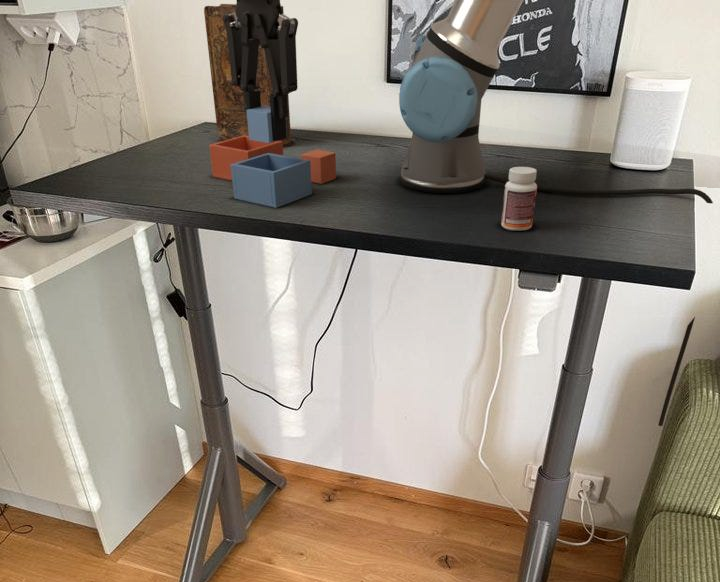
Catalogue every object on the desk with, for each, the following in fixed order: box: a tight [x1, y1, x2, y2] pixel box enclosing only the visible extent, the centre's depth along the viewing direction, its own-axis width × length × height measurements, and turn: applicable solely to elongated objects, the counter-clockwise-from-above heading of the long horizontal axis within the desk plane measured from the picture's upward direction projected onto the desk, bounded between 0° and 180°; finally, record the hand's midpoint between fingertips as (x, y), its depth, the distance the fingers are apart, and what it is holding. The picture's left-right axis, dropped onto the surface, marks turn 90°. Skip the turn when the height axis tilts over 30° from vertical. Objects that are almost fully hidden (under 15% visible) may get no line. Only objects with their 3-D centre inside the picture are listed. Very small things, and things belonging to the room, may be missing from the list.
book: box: [203, 3, 292, 148], centre depth 152 cm, size 16×6×25 cm, turn 63°
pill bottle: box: [500, 166, 538, 232], centre depth 110 cm, size 5×5×8 cm
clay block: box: [300, 149, 337, 185], centre depth 134 cm, size 4×4×4 cm
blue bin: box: [231, 153, 313, 209], centre depth 125 cm, size 10×10×6 cm
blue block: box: [246, 106, 287, 143], centre depth 120 cm, size 4×4×4 cm
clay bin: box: [208, 135, 285, 182], centre depth 136 cm, size 10×10×6 cm
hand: (267, 136), depth 121 cm, fingers closed on blue block, 4 cm apart
